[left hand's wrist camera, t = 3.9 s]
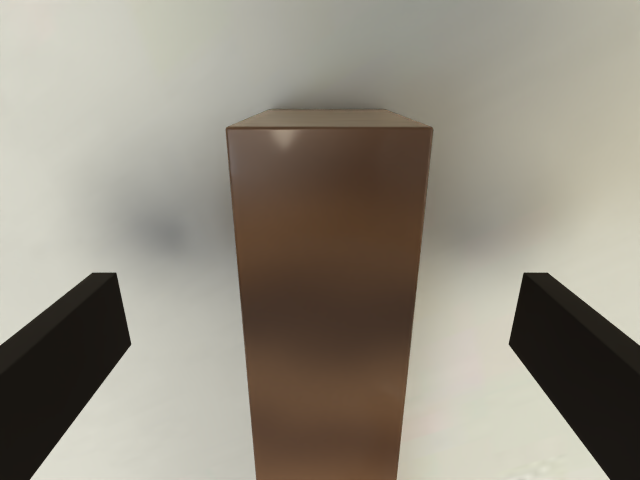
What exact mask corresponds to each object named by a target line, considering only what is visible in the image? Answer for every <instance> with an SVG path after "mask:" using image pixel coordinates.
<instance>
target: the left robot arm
mask: <svg viewBox="0 0 640 480" xmlns="http://www.w3.org/2000/svg"><path fill="white" fill-rule="evenodd" d="M130 345H131V341H130V336H129V331H128V326H127V322H126V317H125V312H124V307H123V302H122V298H121V293H120V288H119V283H118V278H117V274H116V273H92V274H90V275H89V276H88V277H86V278H85V279H84V280H83V281H81V282H80V283H79V284H78V285H76V286H75V287H74V288H73V289H71V290H70V291H69V292H68V293H66V294H65V295H64V296H62V297H61V298H60V299H59V300H57V301H56V302H55V303H54V304H52V305H51V306H50V307H49V308H47V309H46V310H45V311H43V312H42V313H41V314H40V315H38V316H37V317H36V318H35V319H33V320H32V321H31V322H30V323H28V324H27V325H26V326H24V327H23V328H22V329H21V330H19V331H18V332H17V333H16V334H14V335H13V336H12V337H11V338H9V339H8V340H7V341H6V342H4V343H3V344H2V345H0V480H30V479H31V477H32V476H33V475H34V473H35V472H36V471H37V469H38V468H39V467H40V465H41V464H42V463H43V461H44V460H45V459H46V457H47V456H48V455H49V453H50V452H51V451H52V449H53V448H54V447H55V445H56V444H57V443H58V441H59V440H60V439H61V437H62V436H63V435H64V433H65V432H66V431H67V429H68V428H69V427H70V425H71V424H72V423H73V421H74V420H75V419H76V417H77V416H78V415H79V413H80V412H81V411H82V409H83V408H84V407H85V405H86V404H87V403H88V401H89V400H90V399H91V397H92V396H93V395H94V393H95V392H96V391H97V389H98V388H99V387H100V385H101V384H102V383H103V381H104V380H105V379H106V377H107V376H108V375H109V373H110V372H111V371H112V369H113V368H114V367H115V365H116V364H117V363H118V361H119V360H120V359H121V357H122V356H123V355H124V353H125V352H126V351H127V349H128V348H129V347H130ZM509 345H510V347H511V348H512V349H513V351H514V352H515V353H516V355H517V356H518V357H519V359H520V360H521V361H522V363H523V364H524V365H525V367H526V368H527V369H528V371H529V372H530V373H531V375H532V376H533V377H534V379H535V380H536V381H537V383H538V384H539V385H540V387H541V388H542V389H543V391H544V392H545V393H546V395H547V396H548V397H549V399H550V400H551V401H552V403H553V404H554V405H555V407H556V408H557V409H558V411H559V412H560V413H561V415H562V416H563V417H564V419H565V420H566V421H567V423H568V424H569V425H570V427H571V428H572V429H573V431H574V432H575V433H576V435H577V436H578V437H579V439H580V440H581V441H582V443H583V444H584V445H585V447H586V448H587V449H588V451H589V452H590V453H591V455H592V456H593V457H594V459H595V460H596V461H597V463H598V464H599V465H600V467H601V468H602V469H603V471H604V472H605V473H606V475H607V476H608V477H609V479H610V480H640V345H638V344H637V343H636V342H634V341H633V340H632V339H631V338H629V337H628V336H627V335H626V334H624V333H623V332H622V331H621V330H619V329H618V328H617V327H616V326H614V325H613V324H612V323H610V322H609V321H608V320H607V319H605V318H604V317H603V316H602V315H600V314H599V313H598V312H597V311H595V310H594V309H593V308H591V307H590V306H589V305H588V304H586V303H585V302H584V301H583V300H581V299H580V298H579V297H578V296H576V295H575V294H574V293H572V292H571V291H570V290H569V289H567V288H566V287H565V286H564V285H562V284H561V283H560V282H559V281H557V280H556V279H555V278H554V277H552V276H551V275H550V274H548V273H524V274H523V278H522V283H521V288H520V293H519V298H518V302H517V307H516V312H515V317H514V322H513V326H512V331H511V336H510V341H509Z"/></svg>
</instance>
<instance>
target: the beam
mask: <svg viewBox="0 0 640 480" xmlns="http://www.w3.org/2000/svg"><path fill="white" fill-rule="evenodd" d="M432 138H433V128H432V127H430V126H428V125H425V124H422V123H420V122H417V121H414V120H412V119H409V118H407V117H404V116H401V115H399V114H396V113H393V112H391V111H388V110H385V109H269V110H267V111H264V112H262V113H260V114H257V115H255V116H252V117H250V118H247V119H245V120H243V121H240V122H238V123H235V124H233V125H231V126H228V127H226V140H227V151H228V163H229V174H230V185H231V197H232V208H233V220H234V231H235V242H236V254H237V265H238V277H239V288H240V299H241V311H242V322H243V333H244V345H245V356H246V368H247V379H248V390H249V402H250V413H251V425H252V436H253V447H254V459H255V470H256V480H396V479H397V470H398V460H399V451H400V441H401V432H402V422H403V413H404V403H405V394H406V384H407V375H408V365H409V356H410V346H411V337H412V328H413V318H414V309H415V299H416V290H417V280H418V271H419V261H420V252H421V242H422V233H423V223H424V214H425V204H426V195H427V185H428V176H429V166H430V157H431V147H432Z"/></svg>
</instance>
